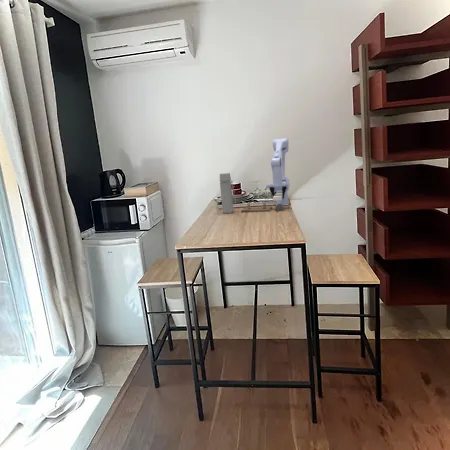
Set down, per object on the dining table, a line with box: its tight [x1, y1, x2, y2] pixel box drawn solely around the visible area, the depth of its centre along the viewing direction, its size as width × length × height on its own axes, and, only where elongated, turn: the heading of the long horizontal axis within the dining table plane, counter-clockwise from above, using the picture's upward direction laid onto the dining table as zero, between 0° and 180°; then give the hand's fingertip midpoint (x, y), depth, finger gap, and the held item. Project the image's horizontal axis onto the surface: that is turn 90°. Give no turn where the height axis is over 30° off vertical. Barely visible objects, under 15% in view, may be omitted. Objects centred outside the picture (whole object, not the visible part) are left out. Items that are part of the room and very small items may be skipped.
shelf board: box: [272, 192, 282, 201], centre depth 240 cm, size 14×5×2 cm, turn 164°
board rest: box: [275, 203, 283, 211], centre depth 241 cm, size 8×3×2 cm, turn 164°
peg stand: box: [240, 201, 273, 213], centre depth 243 cm, size 10×18×5 cm, turn 74°
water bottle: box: [219, 172, 237, 214], centre depth 242 cm, size 9×8×25 cm
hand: (278, 198), depth 240 cm, fingers closed on shelf board, 5 cm apart
